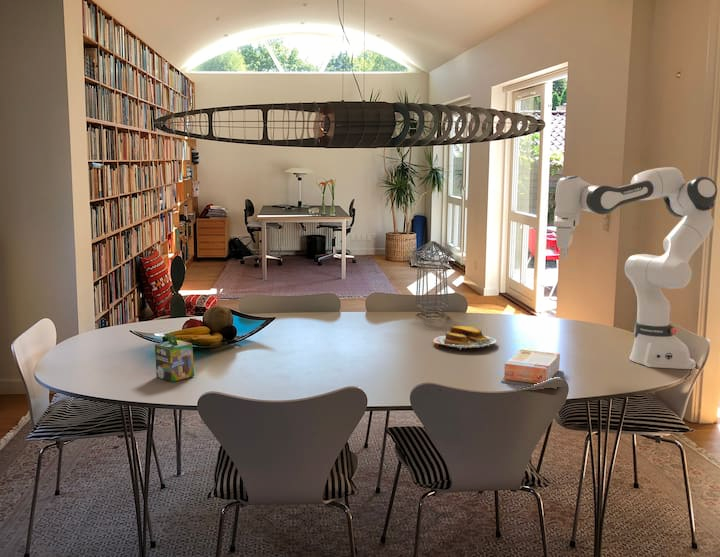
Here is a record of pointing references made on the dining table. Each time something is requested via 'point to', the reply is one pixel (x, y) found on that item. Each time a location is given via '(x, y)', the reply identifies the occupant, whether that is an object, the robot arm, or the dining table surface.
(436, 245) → the geometric lantern
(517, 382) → the mat
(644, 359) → the robot arm
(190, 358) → the chalk box
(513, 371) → the cracker box
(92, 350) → the dining table surface
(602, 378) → the dining table surface
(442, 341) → the food on plate
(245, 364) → the dining table surface
